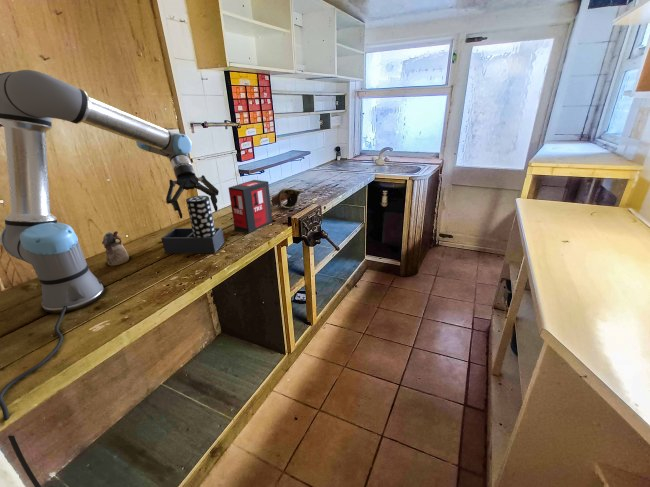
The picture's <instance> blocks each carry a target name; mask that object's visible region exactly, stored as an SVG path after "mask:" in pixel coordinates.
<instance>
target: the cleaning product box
mask: <svg viewBox="0 0 650 487" xmlns="http://www.w3.org/2000/svg"><path fill="white" fill-rule="evenodd" d="M228 193H229V200H230V207H231V213H232V220H233V226H234V230H236V231H239V232H244V233H247V234H250V233H252V232H255V231H256V230H258V229H261V228H262V227H264V226H266V225H268V224H270V223H273V215H272V214H273V213H272V202H271V196H270V195H271V194H270V183H269V181H267V180H259V179H252V180H249V181H246V182H245V181H244V182H243V183H239V184H236V185H233V186H229V187H228Z"/></svg>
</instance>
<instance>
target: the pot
mask: <svg viewBox="0 0 650 487" xmlns="http://www.w3.org/2000/svg"><path fill="white" fill-rule="evenodd" d="M302 192H303V189H300V190H299V189H298V190H297V189H292V188H289V187H287V188H286V187H285V188H282V189H280V190H279V192H278V193H276V194H274V195H273V196H272V197H271V205H272V204H273V205H276V206H277V207H279V208H281V207H282V208H285V209H291V208H294V207H295V206H297V204H298V201H299V196H300V195H301V193H302ZM283 201H286V204H283Z"/></svg>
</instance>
